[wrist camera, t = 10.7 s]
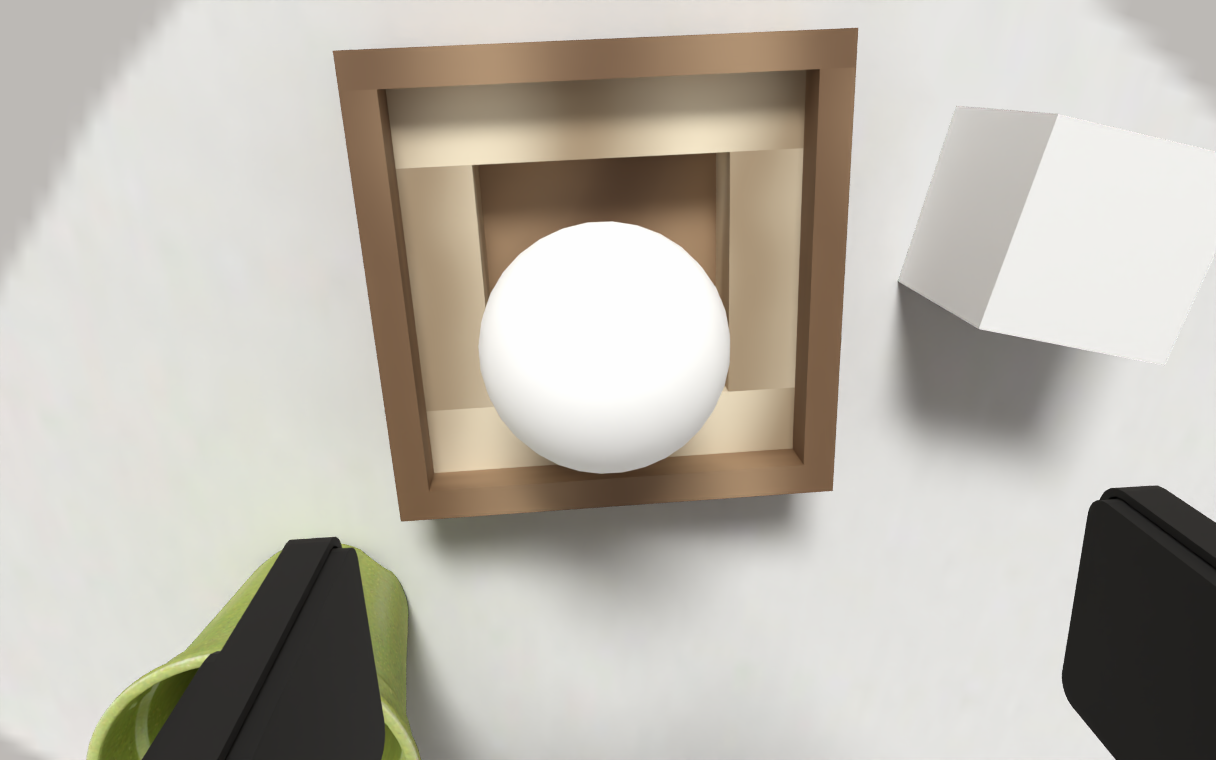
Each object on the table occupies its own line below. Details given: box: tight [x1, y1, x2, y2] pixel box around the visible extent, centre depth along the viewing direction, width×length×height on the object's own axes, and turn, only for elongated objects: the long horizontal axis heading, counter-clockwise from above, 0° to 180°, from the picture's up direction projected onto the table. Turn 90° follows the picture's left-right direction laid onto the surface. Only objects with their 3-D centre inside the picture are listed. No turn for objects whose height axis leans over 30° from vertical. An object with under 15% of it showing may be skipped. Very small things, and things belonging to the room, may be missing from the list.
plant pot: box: [86, 544, 421, 760], centre depth 28 cm, size 9×9×9 cm
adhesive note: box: [898, 106, 1216, 366], centre depth 26 cm, size 6×6×6 cm
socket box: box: [333, 28, 858, 521], centre depth 27 cm, size 14×14×4 cm
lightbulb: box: [478, 221, 730, 474], centre depth 23 cm, size 6×6×11 cm
